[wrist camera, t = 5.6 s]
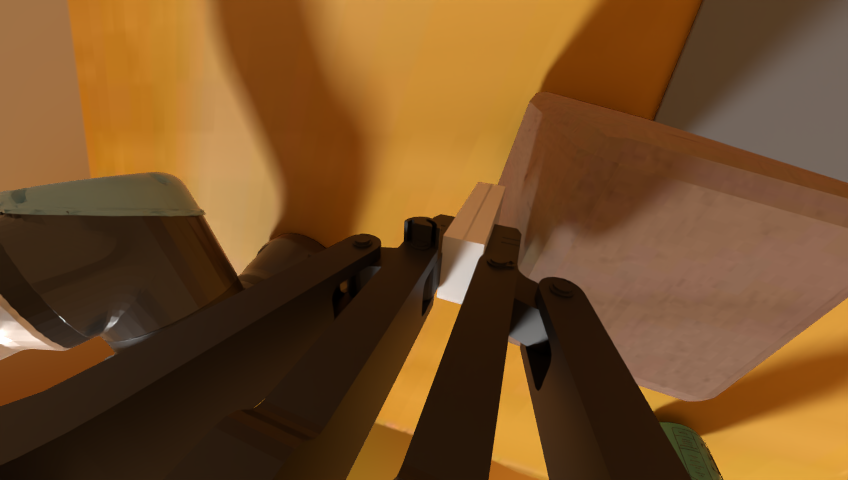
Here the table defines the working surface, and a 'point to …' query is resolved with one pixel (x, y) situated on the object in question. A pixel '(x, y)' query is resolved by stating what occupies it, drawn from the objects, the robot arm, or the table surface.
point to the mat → (767, 81)
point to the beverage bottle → (692, 452)
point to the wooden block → (675, 240)
